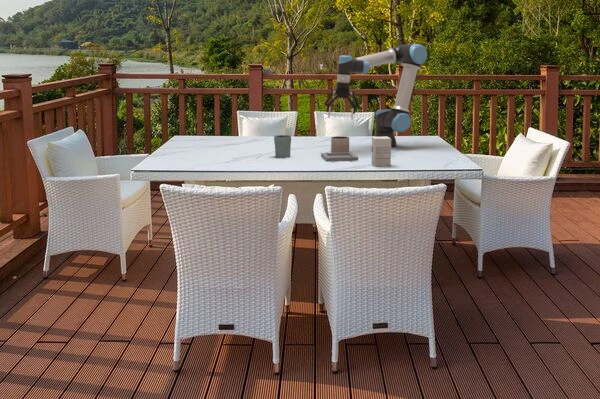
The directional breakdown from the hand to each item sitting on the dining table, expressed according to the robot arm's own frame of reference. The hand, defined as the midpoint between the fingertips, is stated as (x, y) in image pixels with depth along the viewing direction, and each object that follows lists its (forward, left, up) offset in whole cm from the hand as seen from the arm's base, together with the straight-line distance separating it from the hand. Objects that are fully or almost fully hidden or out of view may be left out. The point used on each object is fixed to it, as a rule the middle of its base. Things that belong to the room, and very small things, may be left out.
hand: (340, 118), depth 426 cm
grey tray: (+4, +23, -20) cm, 31 cm away
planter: (0, +2, -21) cm, 21 cm away
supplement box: (-14, +46, -21) cm, 53 cm away
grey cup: (+35, +9, -21) cm, 42 cm away
